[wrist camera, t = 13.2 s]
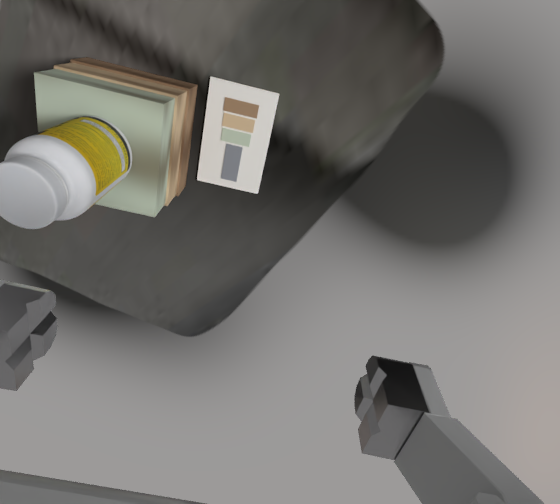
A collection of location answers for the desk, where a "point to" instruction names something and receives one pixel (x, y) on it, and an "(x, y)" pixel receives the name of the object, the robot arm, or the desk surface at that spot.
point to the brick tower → (127, 124)
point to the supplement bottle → (62, 171)
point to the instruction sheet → (236, 134)
